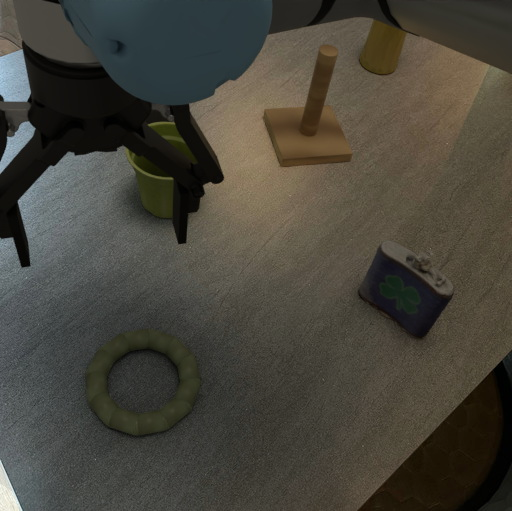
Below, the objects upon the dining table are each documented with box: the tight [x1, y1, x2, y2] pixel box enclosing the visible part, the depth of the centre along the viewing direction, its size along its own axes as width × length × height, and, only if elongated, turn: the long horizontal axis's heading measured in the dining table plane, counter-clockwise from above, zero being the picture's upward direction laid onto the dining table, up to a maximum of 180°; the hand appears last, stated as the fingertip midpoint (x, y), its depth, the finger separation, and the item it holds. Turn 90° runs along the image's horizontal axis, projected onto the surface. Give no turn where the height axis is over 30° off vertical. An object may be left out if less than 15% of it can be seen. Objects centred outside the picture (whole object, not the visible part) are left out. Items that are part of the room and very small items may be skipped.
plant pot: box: [124, 121, 198, 219], centre depth 74 cm, size 9×9×9 cm
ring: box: [84, 328, 202, 437], centre depth 62 cm, size 11×11×2 cm
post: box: [262, 43, 354, 168], centre depth 82 cm, size 10×10×14 cm
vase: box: [359, 19, 408, 75], centre depth 95 cm, size 6×6×14 cm
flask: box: [358, 240, 455, 340], centre depth 68 cm, size 9×3×11 cm, turn 48°
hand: (104, 243), depth 56 cm, fingers open, 13 cm apart
